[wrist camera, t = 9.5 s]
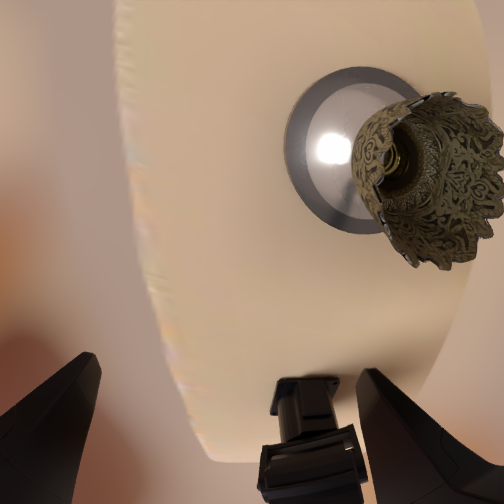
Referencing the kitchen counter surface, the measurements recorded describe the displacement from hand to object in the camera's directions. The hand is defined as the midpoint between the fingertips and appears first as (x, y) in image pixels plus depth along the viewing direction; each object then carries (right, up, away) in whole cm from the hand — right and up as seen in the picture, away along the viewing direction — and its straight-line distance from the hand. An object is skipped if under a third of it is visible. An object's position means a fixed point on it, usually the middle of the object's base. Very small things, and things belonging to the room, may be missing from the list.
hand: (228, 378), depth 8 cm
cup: (+9, +10, +8) cm, 15 cm away
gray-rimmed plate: (+8, +11, +8) cm, 16 cm away
